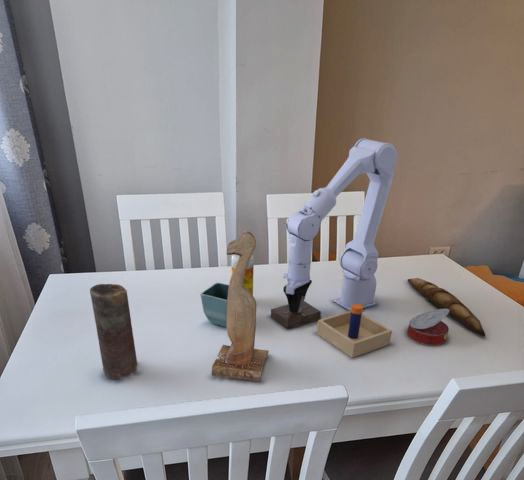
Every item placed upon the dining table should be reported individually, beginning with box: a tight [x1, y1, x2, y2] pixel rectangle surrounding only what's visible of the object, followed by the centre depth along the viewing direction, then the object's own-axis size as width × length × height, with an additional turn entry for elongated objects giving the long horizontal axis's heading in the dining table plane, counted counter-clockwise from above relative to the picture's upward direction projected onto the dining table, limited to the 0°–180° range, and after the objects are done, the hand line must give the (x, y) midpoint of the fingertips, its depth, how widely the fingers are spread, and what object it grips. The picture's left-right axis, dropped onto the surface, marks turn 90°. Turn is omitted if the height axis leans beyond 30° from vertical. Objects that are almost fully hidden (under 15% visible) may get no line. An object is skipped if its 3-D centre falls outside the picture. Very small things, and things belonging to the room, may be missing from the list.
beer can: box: [230, 254, 255, 296], centre depth 133 cm, size 6×6×15 cm
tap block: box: [270, 300, 322, 330], centre depth 129 cm, size 11×8×3 cm
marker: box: [348, 304, 364, 339], centre depth 118 cm, size 3×3×8 cm
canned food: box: [406, 308, 450, 346], centre depth 122 cm, size 11×10×10 cm
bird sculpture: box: [210, 230, 270, 382], centre depth 101 cm, size 11×12×32 cm
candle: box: [89, 283, 138, 380], centre depth 101 cm, size 8×7×20 cm
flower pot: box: [200, 282, 229, 328], centre depth 125 cm, size 9×9×9 cm
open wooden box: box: [316, 310, 393, 359], centre depth 120 cm, size 13×14×4 cm
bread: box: [407, 277, 486, 337], centre depth 137 cm, size 38×5×5 cm, turn 16°
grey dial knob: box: [293, 296, 305, 313], centre depth 128 cm, size 4×4×4 cm
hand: (296, 308), depth 128 cm, fingers closed on grey dial knob, 3 cm apart
